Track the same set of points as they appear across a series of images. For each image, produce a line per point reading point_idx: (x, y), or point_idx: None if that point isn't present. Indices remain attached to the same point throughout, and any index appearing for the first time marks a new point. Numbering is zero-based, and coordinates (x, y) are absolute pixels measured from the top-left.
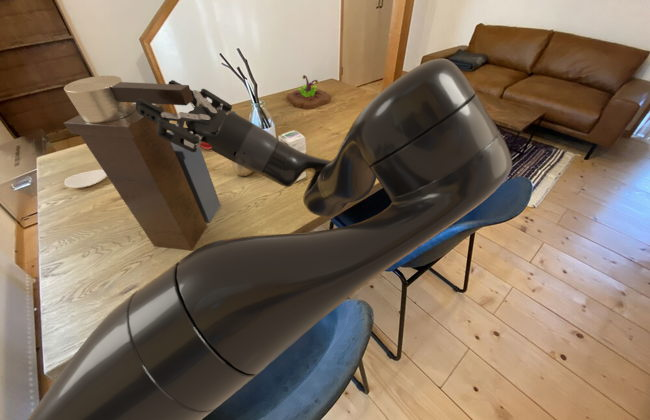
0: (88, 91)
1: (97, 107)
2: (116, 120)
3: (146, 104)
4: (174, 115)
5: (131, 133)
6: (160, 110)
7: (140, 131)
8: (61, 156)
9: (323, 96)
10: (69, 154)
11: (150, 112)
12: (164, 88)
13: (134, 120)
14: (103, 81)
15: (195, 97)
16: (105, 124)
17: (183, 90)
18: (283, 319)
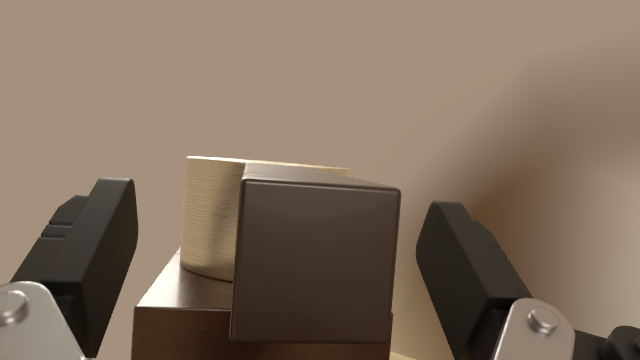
0: (194, 158)
1: (190, 214)
2: (205, 278)
3: (83, 206)
4: (41, 355)
5: (132, 337)
6: (61, 268)
7: (181, 354)
8: (391, 352)
9: None
10: (402, 356)
11: (30, 252)
12: (263, 171)
13: (207, 301)
14: (292, 164)
15: (494, 349)
16: (168, 272)
17: (278, 195)
18: None
